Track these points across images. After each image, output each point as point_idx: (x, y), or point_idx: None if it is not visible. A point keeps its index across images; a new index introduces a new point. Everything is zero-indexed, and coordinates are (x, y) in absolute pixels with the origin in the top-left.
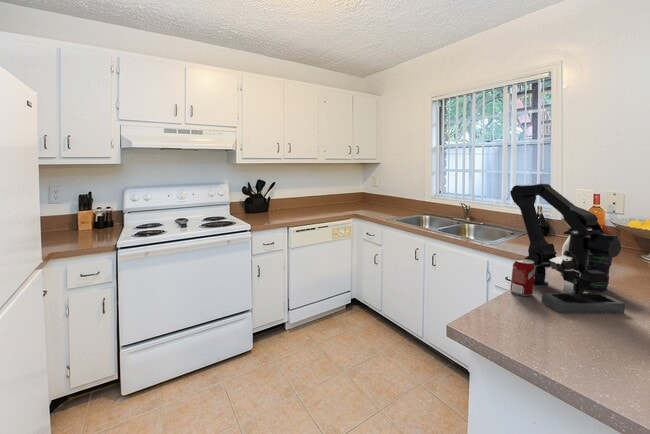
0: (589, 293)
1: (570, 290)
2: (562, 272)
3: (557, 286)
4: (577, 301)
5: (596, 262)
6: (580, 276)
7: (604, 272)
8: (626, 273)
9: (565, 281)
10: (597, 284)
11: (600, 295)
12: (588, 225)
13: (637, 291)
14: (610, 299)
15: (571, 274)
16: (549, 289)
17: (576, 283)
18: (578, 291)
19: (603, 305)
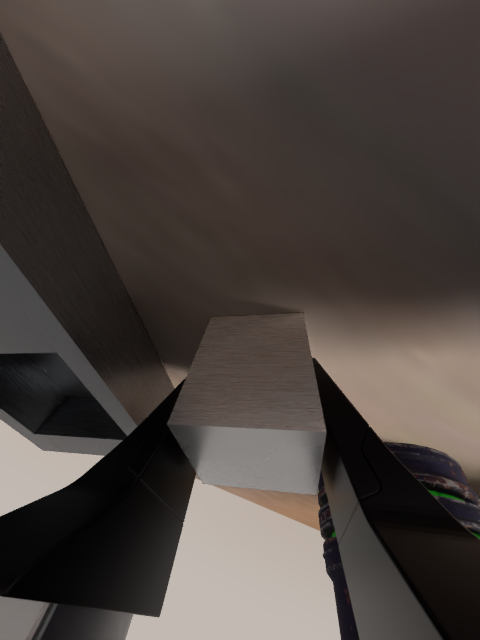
0: (122, 411)
1: (220, 353)
2: (433, 629)
3: (461, 366)
4: None
5: None
6: (4, 626)
7: (340, 630)
8: None
9: (302, 416)
10: (326, 509)
11: (121, 437)
12: None
13: (316, 522)
14: (61, 436)
15: (360, 577)
16: (423, 256)
17: (205, 453)
18: (180, 384)
19: None
